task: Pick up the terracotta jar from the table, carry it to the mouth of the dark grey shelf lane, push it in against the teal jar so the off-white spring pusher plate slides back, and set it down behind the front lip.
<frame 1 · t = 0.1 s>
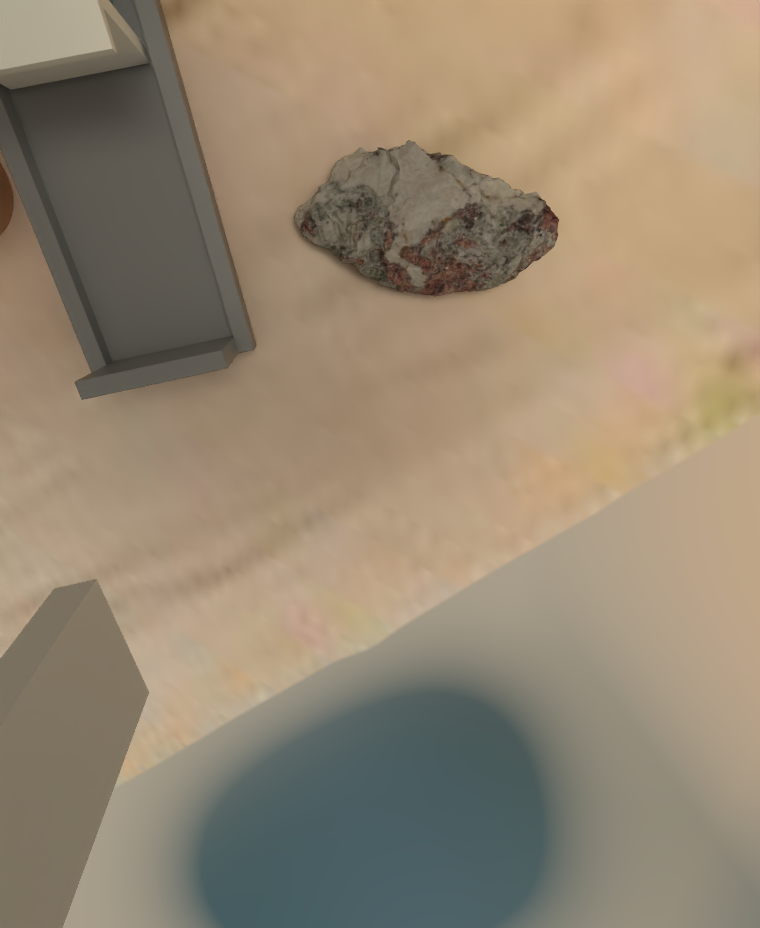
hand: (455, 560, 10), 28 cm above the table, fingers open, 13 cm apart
mineral rock: (418, 227, 35), on the table
lane: (112, 157, 31), on the table
pusher: (52, 61, 25), point 5 cm above the table, slide at 0.0 cm
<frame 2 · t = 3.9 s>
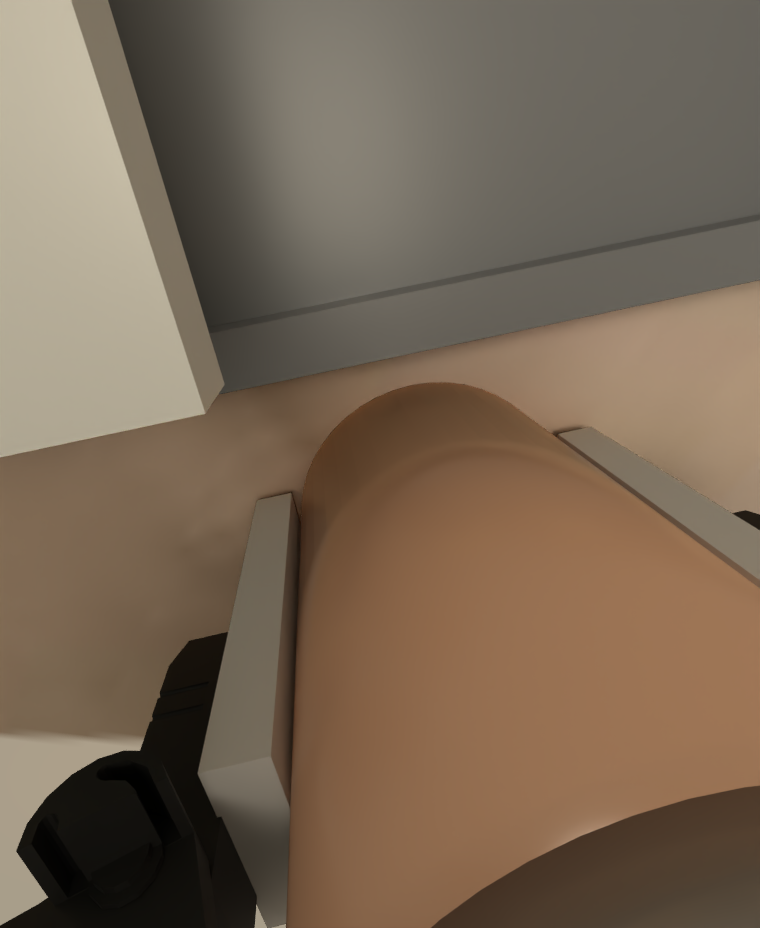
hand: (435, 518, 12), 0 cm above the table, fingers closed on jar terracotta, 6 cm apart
lane: (352, 40, 9), on the table
jar terracotta: (431, 509, 12), on the table, touching gripper
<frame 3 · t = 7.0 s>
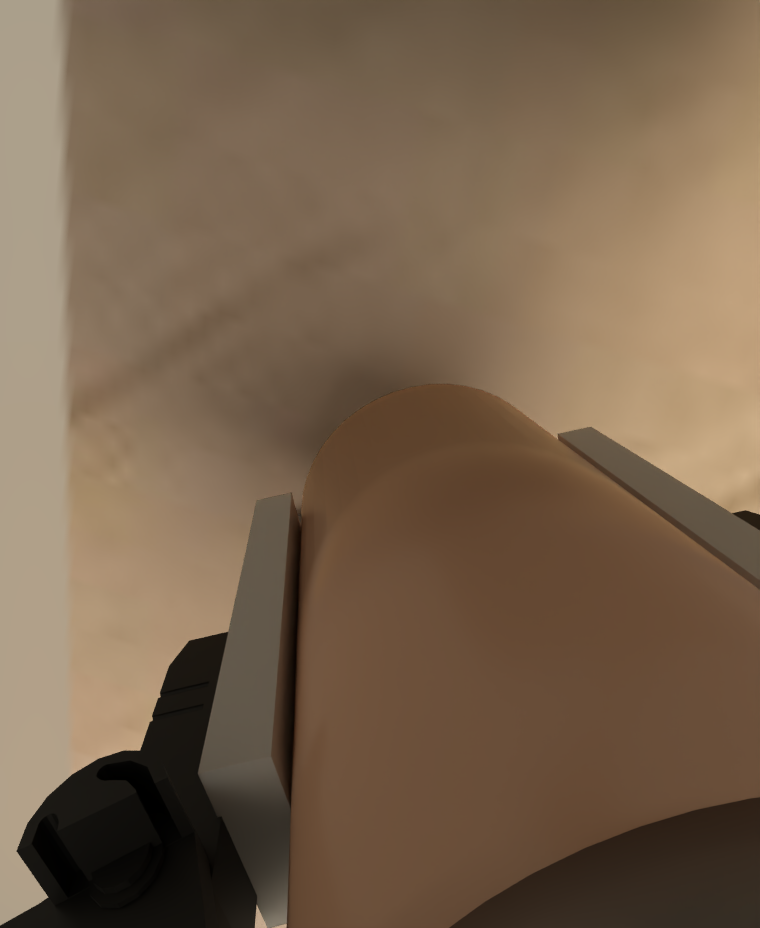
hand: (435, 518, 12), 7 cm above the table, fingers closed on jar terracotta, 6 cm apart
jar terracotta: (432, 511, 12), point 7 cm above the table, touching gripper
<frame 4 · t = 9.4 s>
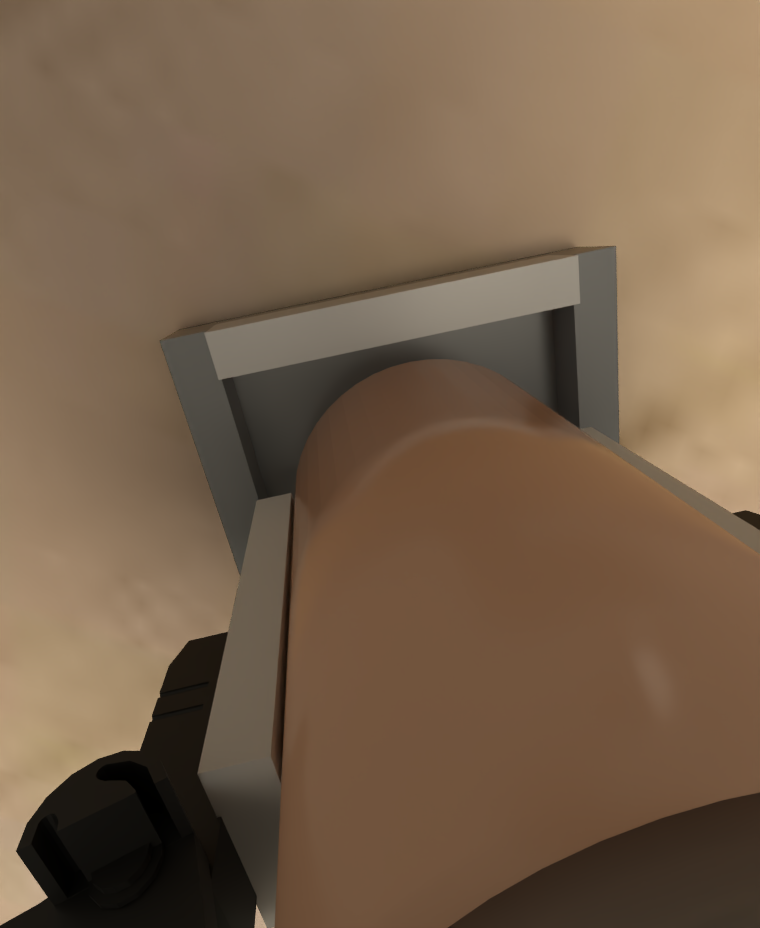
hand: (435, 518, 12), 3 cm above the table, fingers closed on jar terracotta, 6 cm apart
lane: (448, 663, 18), on the table
jar terracotta: (429, 491, 12), point 3 cm above the table, touching gripper, jar teal
when the fingers open (3 cm above the table, at t = 10.4 s): jar terracotta drops 2 cm, resting on lane.
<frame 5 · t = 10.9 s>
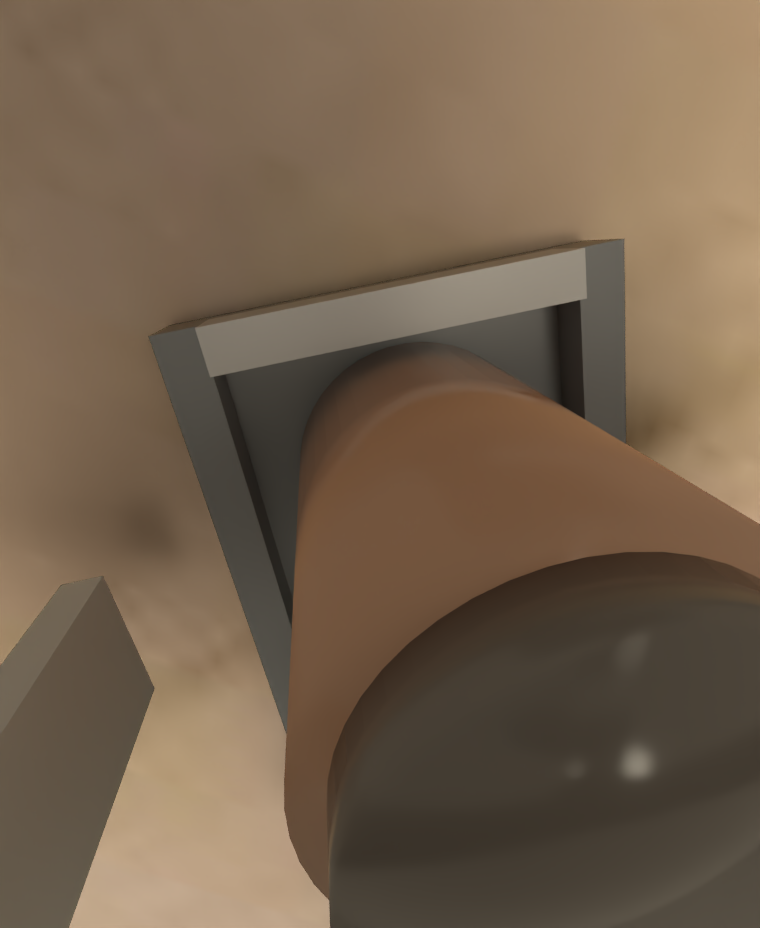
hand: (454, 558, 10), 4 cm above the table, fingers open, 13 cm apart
lane: (448, 669, 17), on the table
jar terracotta: (418, 460, 14), point 1 cm above the table, touching lane
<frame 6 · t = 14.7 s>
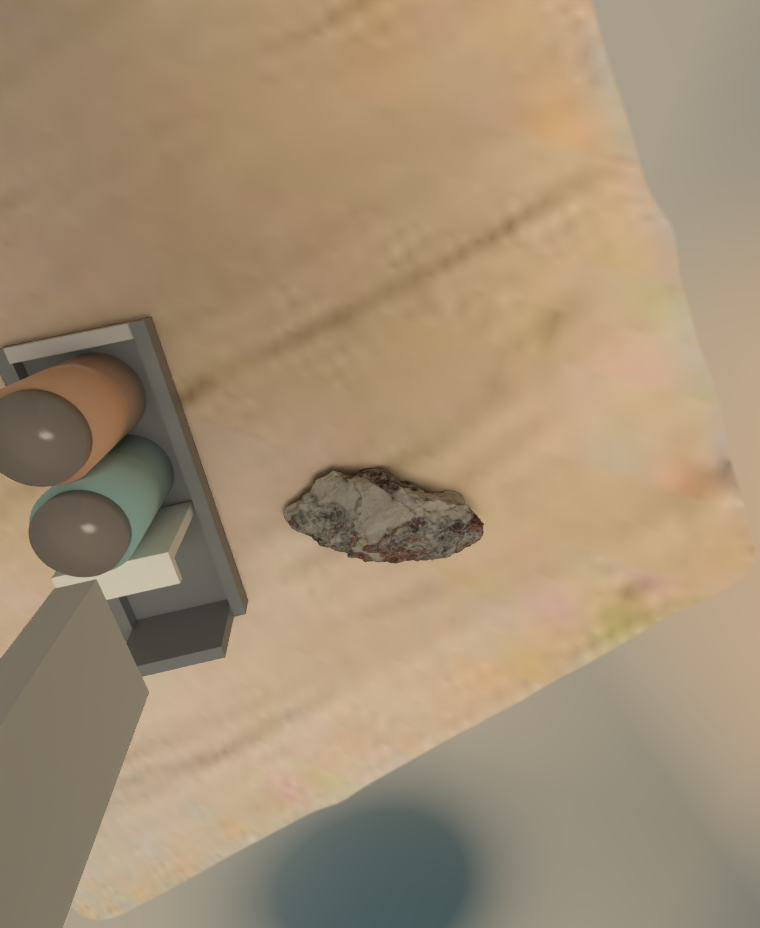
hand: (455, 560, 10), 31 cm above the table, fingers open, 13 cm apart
mineral rock: (380, 507, 45), on the table
lane: (140, 488, 41), on the table
pusher: (134, 550, 38), point 5 cm above the table, slide at 6.1 cm
jar teal: (132, 472, 40), point 1 cm above the table, touching lane
jar terracotta: (101, 395, 38), point 1 cm above the table, touching lane
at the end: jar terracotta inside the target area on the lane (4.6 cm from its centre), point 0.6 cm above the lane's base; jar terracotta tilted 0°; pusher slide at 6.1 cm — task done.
